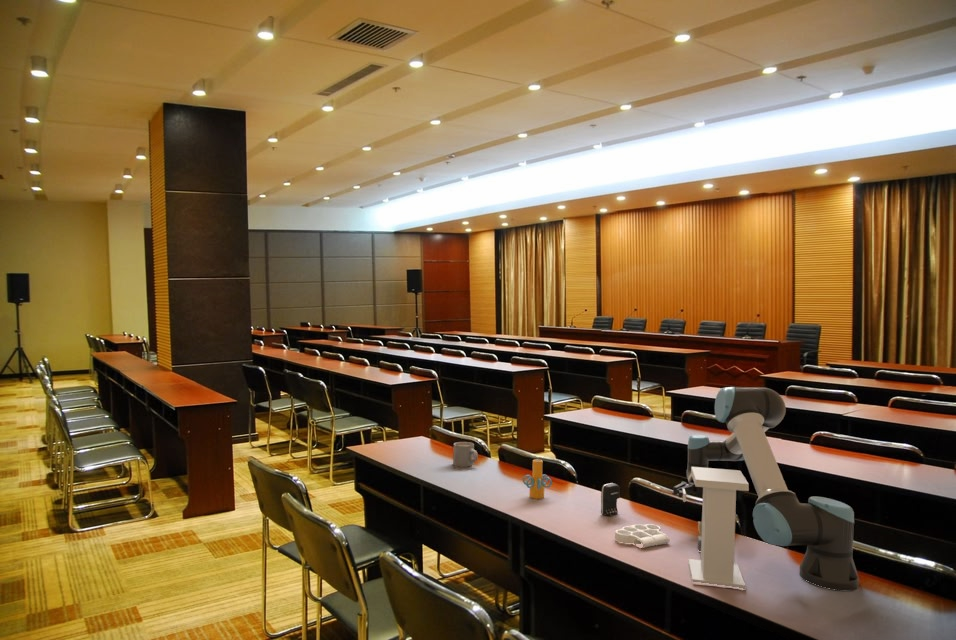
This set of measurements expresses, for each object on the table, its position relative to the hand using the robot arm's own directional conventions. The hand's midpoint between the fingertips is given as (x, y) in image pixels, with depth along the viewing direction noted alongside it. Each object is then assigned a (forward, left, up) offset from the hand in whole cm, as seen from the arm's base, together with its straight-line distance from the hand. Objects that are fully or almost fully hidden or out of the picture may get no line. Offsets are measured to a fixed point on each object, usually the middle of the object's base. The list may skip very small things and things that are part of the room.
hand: (705, 499), depth 217 cm
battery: (+32, -16, -14) cm, 38 cm away
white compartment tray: (+21, +7, -14) cm, 26 cm away
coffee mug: (+103, -69, -14) cm, 125 cm away
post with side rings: (+62, -29, -14) cm, 70 cm away
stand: (0, +31, -14) cm, 34 cm away
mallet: (0, +1, -14) cm, 14 cm away
